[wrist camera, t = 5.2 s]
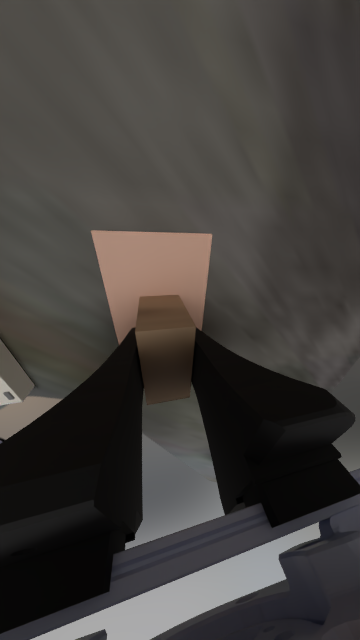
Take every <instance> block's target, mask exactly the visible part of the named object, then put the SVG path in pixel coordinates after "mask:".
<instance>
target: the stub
mask: <svg viewBox="0 0 360 640" xmlns="http://www.w3.org/2000/svg"><path fill="white" fill-rule="evenodd" d="M91 233H92V237H93V241H94V245H95V249H96V253H97V257H98V261H99V266H100V270H101V274H102V278H103V282H104V286H105V290H106V294H107V298H108V302H109V306H110V310H111V315H112V319H113V323H114V327H115V331H116V335H117V339H118V343H119V345H120V343H121V342H122V341H123V340H124V338H125V337H126V335H127V334H128V332H129V331H130V330H131V328H135V327H136V329H135V334H136V341H137V347H138V353H139V359H140V365H141V371H142V377H143V383H144V389H145V395H146V401H147V405H150V404H155V403H161V402H166V401H172V400H177V399H183V398H189V397H190V389H191V378H192V366H193V355H194V343H195V331H196V327H197V328H198V329H199V330H201V331H202V322H203V313H204V304H205V295H206V287H207V278H208V269H209V260H210V251H211V242H212V234H198V233H162V232H127V231H91Z"/></svg>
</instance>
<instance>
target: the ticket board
mask: <svg viewBox="0 0 360 640" xmlns="http://www.w3.org/2000/svg"><path fill="white" fill-rule="evenodd" d="M34 386H35V385H34V384H33V382H32V381H31V380H30V378H29V377H28V376H27V374H26V373H25V371H24V370H23V369H22V367H21V366H20V365H19V363H18V362H17V361H16V359H15V358H14V357H13V355H12V354H11V353H10V351H9V350H8V349H7V347H6V346H5V345H4V343H3V342H2V341H1V339H0V405H5V404H12V403H18V402H23V401H24V399H25V398H26V397H27V395H28V394H29V393H30V392H31V390H32V389H33V388H34Z"/></svg>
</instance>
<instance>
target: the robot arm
mask: <svg viewBox="0 0 360 640" xmlns="http://www.w3.org/2000/svg"><path fill="white" fill-rule="evenodd" d="M135 329H136V327H135V328H131V330H130V331H129V332H128V334H127V335H126V337H125V338H124V340H123V341H122V342H121V343H120V345H119V346H118V347H117V349H116V350H115V351H114V352H113V353H112V354H111V356H110V357H109V358H108V359H107V360H106V361H105V362H104V363H103V364H102V365H101V366H100V368H99V369H98V370H96V371H95V372H94V373H93V374H92V375H91V376H90V377H89V378H88V379H87V380H86V381H84V382H83V383H82V384H81V385H80V386H79V387H77V388H76V389H75V390H74V391H73V392H71V393H70V394H69V395H68V396H67V397H65V398H64V399H63V400H61V401H60V402H59V403H57V404H56V405H55V406H54V407H52V408H51V409H50V410H48V411H47V412H45V413H44V414H43V415H41V416H40V417H39V418H37V419H36V420H35V421H33V422H32V423H31V424H29V425H27V426H26V427H25V428H23V429H22V430H20V431H19V432H17V433H16V434H14V435H13V436H11V437H10V438H8V439H7V440H5V441H4V442H2V441H1V440H0V640H30V639H32V638H35V637H37V636H40V635H42V634H45V633H47V632H50V631H52V630H54V629H57V628H59V627H62V626H64V625H66V624H69V623H72V622H74V621H76V620H79V619H81V618H84V617H86V616H89V615H91V614H94V613H96V612H99V611H101V610H104V609H106V608H108V607H111V606H113V605H116V604H118V603H121V602H123V601H126V600H128V599H131V598H133V597H135V596H138V595H140V594H143V593H145V592H148V591H150V590H153V589H155V588H158V587H160V586H162V585H165V584H167V583H170V582H172V581H175V580H177V579H180V578H182V577H185V576H187V575H189V574H192V573H194V572H197V571H199V570H202V569H204V568H207V567H209V566H212V565H214V564H217V563H219V562H221V561H224V560H226V559H229V558H231V557H234V556H236V555H239V554H241V553H244V552H246V551H248V550H251V549H253V548H255V547H258V546H261V545H263V544H265V543H268V542H271V541H273V540H275V539H278V538H280V537H283V536H285V535H288V534H290V533H293V532H295V531H297V530H300V529H302V528H305V527H307V526H310V525H312V524H314V523H317V522H319V529H320V534H321V536H320V538H318V539H314V540H311V541H308V542H304V543H302V544H299V545H297V546H294V547H292V548H290V549H289V550H287V551H285V552H283V553H281V554H279V561H280V564H281V566H282V568H283V571H284V573H285V576H286V578H287V579H286V580H283V581H281V582H278V583H276V584H273V585H270V586H268V587H265V588H263V589H261V590H258V591H256V592H253V593H251V594H248V595H245V596H243V597H240V598H238V599H235V600H233V601H230V602H228V603H225V604H223V605H220V606H218V607H216V608H214V609H211V610H209V611H207V612H205V613H202V614H200V615H198V616H196V617H194V618H191V619H189V620H187V621H185V622H183V623H181V624H179V625H177V626H175V627H173V628H171V629H169V630H167V631H166V632H164V633H162V634H160V635H158V636H156V637H154V638H152V639H151V640H360V469H357V470H354V471H351V472H348V471H347V470H346V468H345V467H344V466H343V465H342V464H341V462H340V461H339V460H338V459H339V458H341V454H340V452H339V451H338V450H337V449H336V448H335V447H334V446H333V445H332V443H333V442H334V441H335V440H336V439H337V438H339V437H340V436H341V435H342V434H343V433H345V432H346V431H347V430H348V429H349V428H350V427H351V426H352V425H353V424H354V422H355V415H354V414H353V413H352V412H351V411H350V410H349V409H348V408H347V407H345V406H344V405H343V404H342V403H341V402H340V401H338V400H337V399H336V398H335V397H334V396H333V395H332V394H330V393H329V392H328V391H327V390H325V389H323V388H320V387H317V386H314V385H311V384H307V383H304V382H301V381H298V380H295V379H292V378H289V377H287V376H284V375H281V374H279V373H276V372H274V371H271V370H269V369H266V368H264V367H262V366H259V365H257V364H255V363H253V362H251V361H249V360H246V359H244V358H242V357H241V356H239V355H237V354H235V353H233V352H231V351H230V350H228V349H226V348H225V347H223V346H222V345H220V344H219V343H217V342H216V341H214V340H213V339H211V338H210V337H209V336H207V335H206V334H205V333H203V332H202V331H201V330H199V329H198V328H197V327H196V331H195V343H194V355H193V366H192V378H191V382H192V384H193V387H194V390H195V393H196V396H197V399H198V403H199V407H200V411H201V415H202V419H203V423H204V427H205V431H206V435H207V439H208V444H209V448H210V452H211V457H212V461H213V466H214V470H215V475H216V480H217V484H218V489H219V494H220V499H221V503H222V506H223V510H224V513H225V516H222V517H219V518H216V519H213V520H211V521H207V522H205V523H202V524H199V525H196V526H193V527H190V528H187V529H184V530H181V531H179V532H176V533H173V534H170V535H167V536H164V537H161V538H158V539H156V540H153V541H150V542H147V543H144V544H141V545H138V546H135V547H133V548H130V549H127V550H125V543H127V542H130V541H133V540H135V533H136V532H137V530H138V528H139V526H140V524H141V522H142V520H143V514H142V400H143V390H144V383H143V377H142V371H141V365H140V359H139V353H138V347H137V341H136V334H135ZM106 639H107V633H106V631H105V629H104V630H101V631H98V632H96V633H93V634H90V635H87V636H84V637H81V638H78V639H76V640H106Z"/></svg>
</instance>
